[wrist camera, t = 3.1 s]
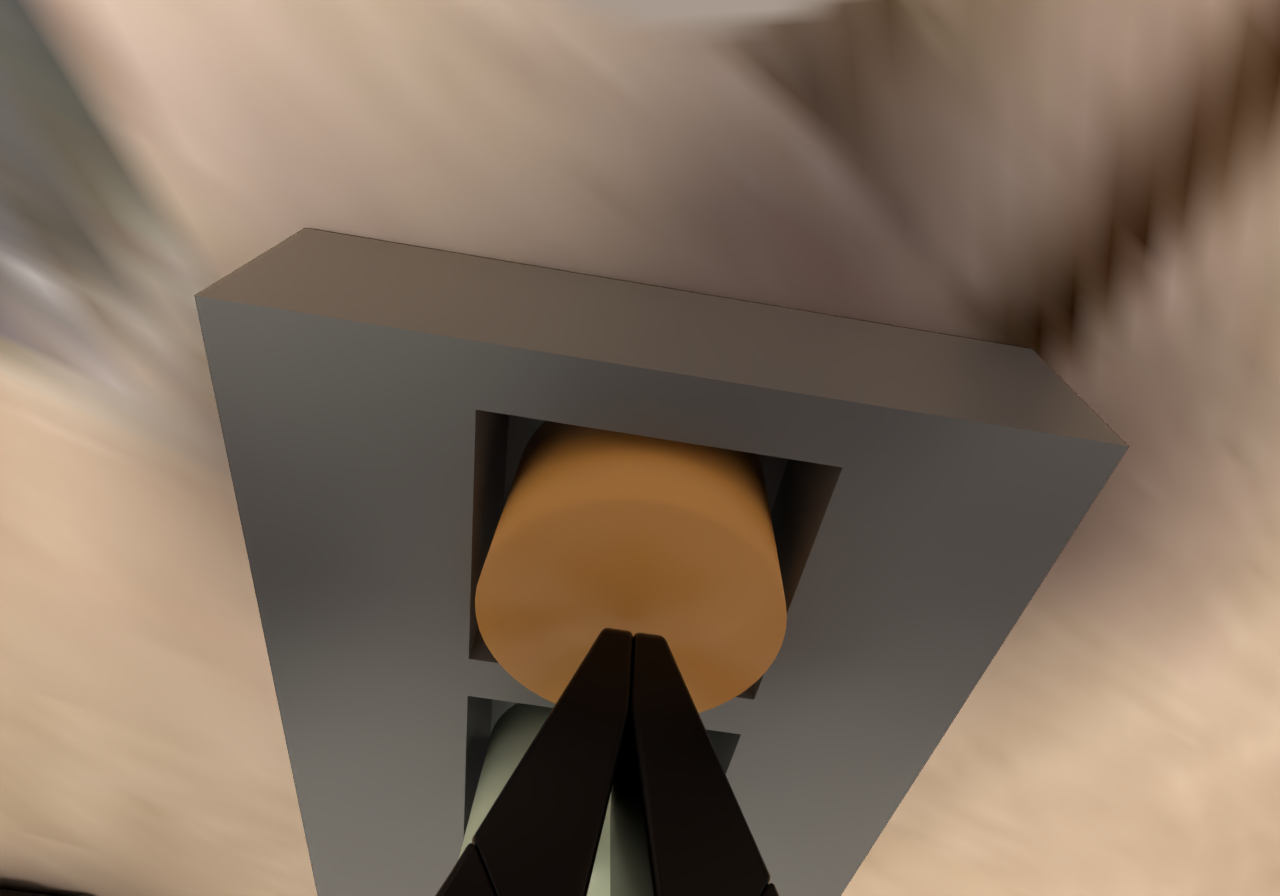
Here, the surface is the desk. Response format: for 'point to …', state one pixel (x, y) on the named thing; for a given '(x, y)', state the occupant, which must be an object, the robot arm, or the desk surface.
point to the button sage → (501, 762)
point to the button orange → (633, 560)
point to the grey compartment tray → (641, 405)
